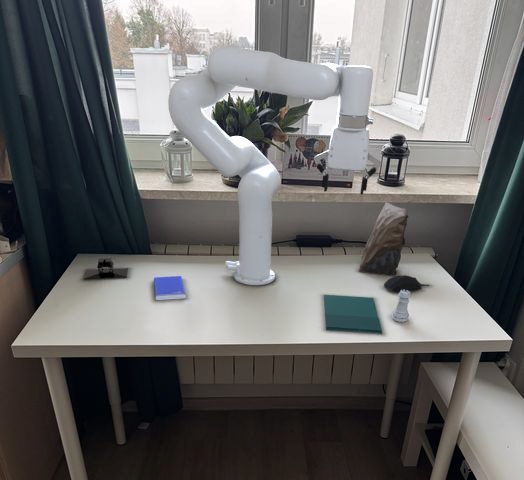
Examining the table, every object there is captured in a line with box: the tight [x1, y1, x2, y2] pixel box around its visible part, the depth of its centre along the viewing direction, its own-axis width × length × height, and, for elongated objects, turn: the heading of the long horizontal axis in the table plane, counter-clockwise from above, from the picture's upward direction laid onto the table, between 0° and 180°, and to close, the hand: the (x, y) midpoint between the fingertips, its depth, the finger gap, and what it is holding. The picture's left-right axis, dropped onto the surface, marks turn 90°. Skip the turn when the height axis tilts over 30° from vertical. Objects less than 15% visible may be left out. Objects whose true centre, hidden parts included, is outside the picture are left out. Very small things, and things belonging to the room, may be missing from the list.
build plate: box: [83, 257, 129, 280], centre depth 152 cm, size 12×7×5 cm, turn 99°
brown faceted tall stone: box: [358, 201, 409, 277], centre depth 159 cm, size 13×13×20 cm
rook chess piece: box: [391, 290, 412, 323], centre depth 133 cm, size 4×4×8 cm
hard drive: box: [153, 275, 186, 301], centre depth 145 cm, size 2×8×12 cm
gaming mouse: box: [383, 274, 430, 294], centre depth 151 cm, size 6×15×4 cm, turn 106°
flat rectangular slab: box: [323, 294, 383, 334], centre depth 137 cm, size 14×20×1 cm
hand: (343, 191), depth 135 cm, fingers open, 9 cm apart
